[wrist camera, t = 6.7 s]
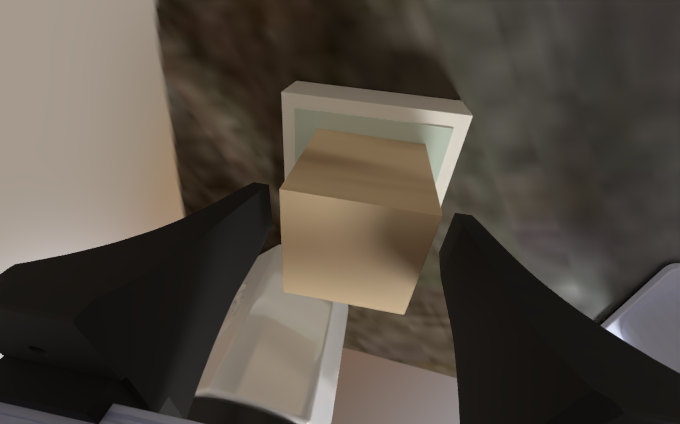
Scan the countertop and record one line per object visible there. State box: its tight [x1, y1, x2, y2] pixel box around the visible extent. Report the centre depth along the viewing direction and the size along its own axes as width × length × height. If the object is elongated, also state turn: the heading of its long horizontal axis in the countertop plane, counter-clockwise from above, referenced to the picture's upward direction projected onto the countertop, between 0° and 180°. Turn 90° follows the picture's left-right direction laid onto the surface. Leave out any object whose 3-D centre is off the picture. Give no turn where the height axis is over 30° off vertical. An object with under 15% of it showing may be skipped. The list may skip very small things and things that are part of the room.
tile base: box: [281, 81, 473, 207], centre depth 14 cm, size 8×8×2 cm
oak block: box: [279, 128, 443, 315], centre depth 11 cm, size 4×4×5 cm
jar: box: [186, 244, 348, 424], centre depth 17 cm, size 9×8×12 cm
